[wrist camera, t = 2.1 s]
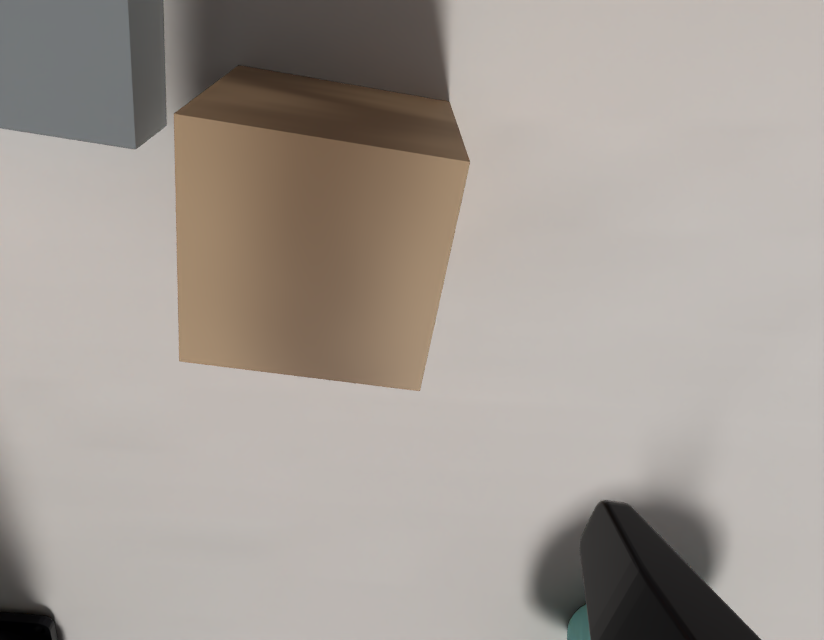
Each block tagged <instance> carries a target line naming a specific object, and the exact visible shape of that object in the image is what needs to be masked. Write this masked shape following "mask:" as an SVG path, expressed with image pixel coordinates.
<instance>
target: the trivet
mask: <svg viewBox="0 0 824 640" xmlns="http://www.w3.org/2000/svg"><path fill="white" fill-rule="evenodd" d="M165 126H166V90H165V54H164V18H163V0H0V128H2V129H9V130H15V131H21V132H28V133H34V134H40V135H47V136H53V137H60V138H66V139H72V140H79V141H85V142H91V143H98V144H104V145H110V146H117V147H123V148H130V149H137V148H138V147H140V146H141V145H142V144H143V143H145V142H146V141H147V140H149V139H150V138H151V137H152V136H154V135H155V134H156V133H158V132H159V131H160V130H162V129H163V128H164V127H165Z"/></svg>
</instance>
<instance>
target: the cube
mask: <svg viewBox="0 0 824 640" xmlns="http://www.w3.org/2000/svg"><path fill="white" fill-rule="evenodd" d="M174 140H175V186H176V231H177V277H178V323H179V361H181V362H189V363H197V364H205V365H213V366H221V367H229V368H237V369H245V370H253V371H261V372H270V373H278V374H286V375H294V376H302V377H310V378H318V379H326V380H334V381H342V382H351V383H359V384H367V385H375V386H383V387H391V388H399V389H407V390H415V391H420V388H421V383H422V379H423V374H424V370H425V365H426V361H427V356H428V352H429V347H430V342H431V338H432V333H433V329H434V324H435V320H436V315H437V310H438V306H439V301H440V297H441V292H442V288H443V283H444V279H445V274H446V269H447V265H448V260H449V256H450V251H451V247H452V242H453V238H454V233H455V228H456V224H457V219H458V215H459V210H460V206H461V201H462V196H463V192H464V187H465V183H466V178H467V174H468V169H469V165H470V160H469V158H468V155H467V152H466V149H465V146H464V143H463V140H462V137H461V134H460V131H459V128H458V125H457V122H456V119H455V117H454V114H453V111H452V108H451V105H450V102H449V101H443V100H437V99H431V98H426V97H420V96H414V95H408V94H402V93H397V92H391V91H385V90H379V89H374V88H368V87H362V86H356V85H350V84H345V83H339V82H333V81H327V80H322V79H316V78H310V77H304V76H298V75H293V74H287V73H281V72H275V71H270V70H264V69H258V68H252V67H246V66H241V65H238V66H237V67H235V68H234V69H233V70H231V71H230V72H229V73H227V74H226V75H225V76H223V77H222V78H221V79H219V80H218V81H217V82H215V83H214V84H213V85H211V86H210V87H209V88H207V89H206V90H205V91H203V92H202V93H201V94H199V95H198V96H197V97H195V98H194V99H193V100H192V101H190V102H189V103H188V104H186V105H185V106H184V107H182V108H181V109H180V110H178V111H177V112H176V113H174Z"/></svg>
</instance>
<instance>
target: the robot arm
mask: <svg viewBox="0 0 824 640" xmlns="http://www.w3.org/2000/svg"><path fill="white" fill-rule="evenodd" d="M580 555H581V564H582V572H583V581H584V589H585V598H586V606H587V615H588V623H589V631H590V639H591V640H761V639H760V638H759V637H758V636H757V635H756V634H755V633H754V632H753V631H752V630H751V629H750V628H749V627H748V626H747V625H746V624H745V623H744V622H743V620H742V619H741V618H740V617H739V616H738V615H737V614H736V613H735V612H734V611H733V610H732V609H731V608H730V607H729V606H728V605H727V604H726V603H725V602H724V601H723V600H722V599H721V598H720V597H719V596H718V595H717V594H716V593H715V592H714V591H713V590H712V589H711V588H710V587H709V586H708V585H707V584H706V583H705V582H704V581H703V580H702V579H701V577H700V576H699V575H698V574H697V573H696V572H695V571H694V570H693V569H692V568H691V567H690V566H689V565H688V564H687V563H686V562H685V561H684V560H683V559H682V558H681V557H680V556H679V555H678V554H677V553H676V552H675V551H674V550H673V549H672V548H671V547H670V546H669V545H668V544H667V543H666V542H665V541H664V540H663V539H662V538H661V537H660V535H659V534H658V533H657V532H656V531H655V530H654V529H653V528H652V527H651V526H650V525H649V524H648V523H647V522H646V521H645V520H644V519H643V518H642V517H641V516H640V515H639V514H638V513H637V512H636V511H635V510H634V509H633V508H632V507H631V506H630V505H628V504H626V503H623V502H616V501H608V500H603V501H600V502H599V503H598V504H597V506H596V507H595V509H594V511H593V514H592V516H591V518H590V520H589V522H588V524H587V526H586V528H585V530H584V532H583V534H582V537H581V541H580ZM0 640H58V639H57V634H56V629H55V624H54V621H53V620H52V619H51V618H49V617H46V616H41V615H29V614H17V613H4V612H0Z"/></svg>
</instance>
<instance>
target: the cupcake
mask: <svg viewBox="0 0 824 640" xmlns="http://www.w3.org/2000/svg"><path fill="white" fill-rule="evenodd" d="M567 640H591V639H590V631H589V623H588V615H587V606H586V604H585V605H584V606H582V607H581V608H580V609H578V610H577V611H576V612H575V614H574V615H573V616H572V618H571V619H570V622H569V624H568V632H567Z"/></svg>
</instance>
